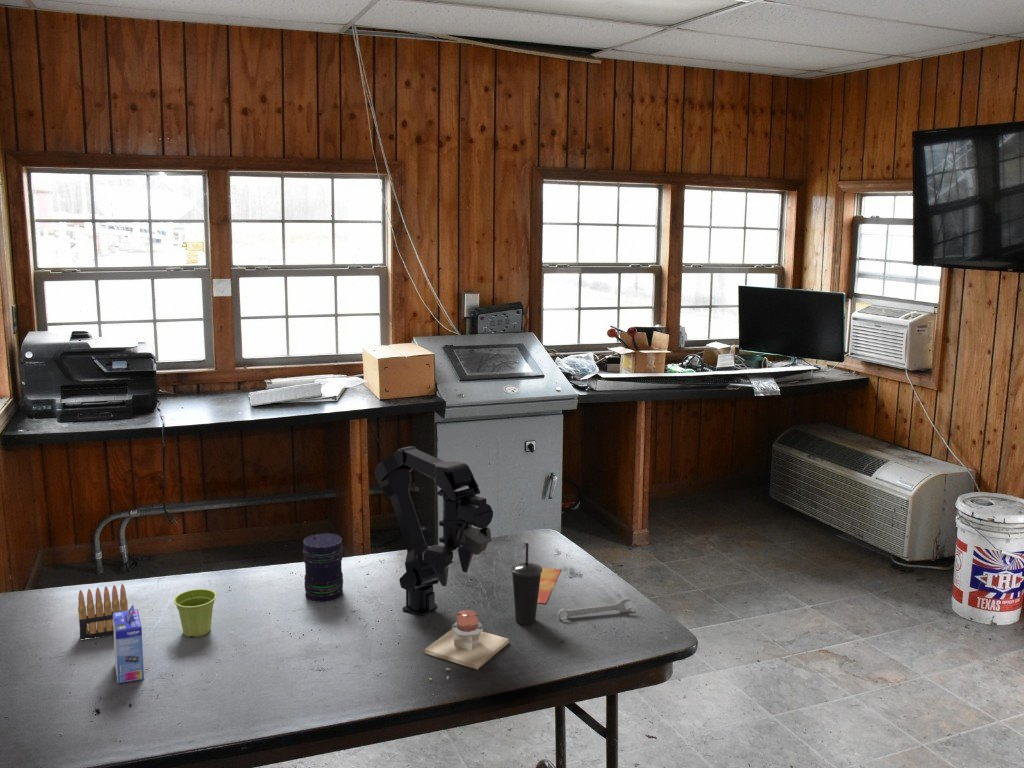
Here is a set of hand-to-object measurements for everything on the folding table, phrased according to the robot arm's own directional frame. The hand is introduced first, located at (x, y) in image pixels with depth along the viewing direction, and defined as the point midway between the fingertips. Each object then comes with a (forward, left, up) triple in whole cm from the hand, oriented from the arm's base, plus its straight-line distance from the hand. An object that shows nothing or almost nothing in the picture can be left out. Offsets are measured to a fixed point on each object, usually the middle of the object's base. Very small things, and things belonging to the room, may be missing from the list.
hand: (454, 578), depth 209 cm
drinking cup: (+13, +12, -13) cm, 22 cm away
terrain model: (-2, +30, -13) cm, 33 cm away
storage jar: (-39, -2, -13) cm, 41 cm away
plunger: (+8, -7, -11) cm, 16 cm away
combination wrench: (+27, +24, -13) cm, 38 cm away
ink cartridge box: (-49, -53, -13) cm, 73 cm away
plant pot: (-51, -33, -13) cm, 62 cm away
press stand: (+8, -7, -12) cm, 16 cm away
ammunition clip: (-68, -45, -13) cm, 83 cm away
